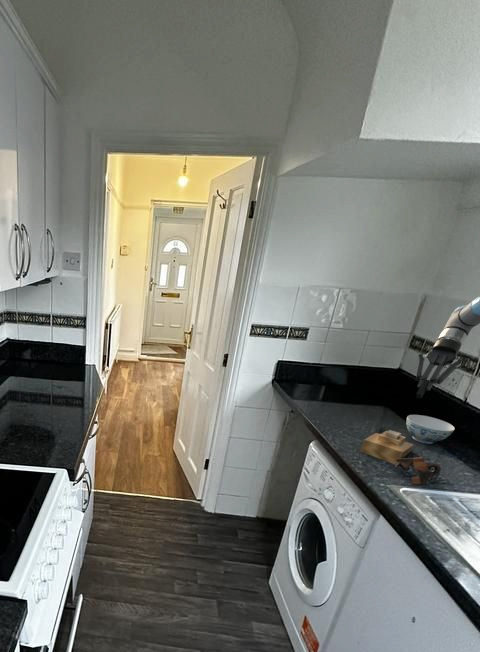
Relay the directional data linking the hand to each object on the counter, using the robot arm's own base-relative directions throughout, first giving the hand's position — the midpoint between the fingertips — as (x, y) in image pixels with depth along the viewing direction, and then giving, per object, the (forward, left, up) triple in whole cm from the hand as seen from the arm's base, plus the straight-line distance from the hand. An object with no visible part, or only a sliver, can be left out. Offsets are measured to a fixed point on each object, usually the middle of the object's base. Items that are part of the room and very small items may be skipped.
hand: (418, 396), depth 148 cm
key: (+1, +12, -13) cm, 18 cm away
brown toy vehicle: (-12, +25, -20) cm, 34 cm away
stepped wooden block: (+1, +14, -20) cm, 24 cm away
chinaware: (-3, -15, -20) cm, 25 cm away
